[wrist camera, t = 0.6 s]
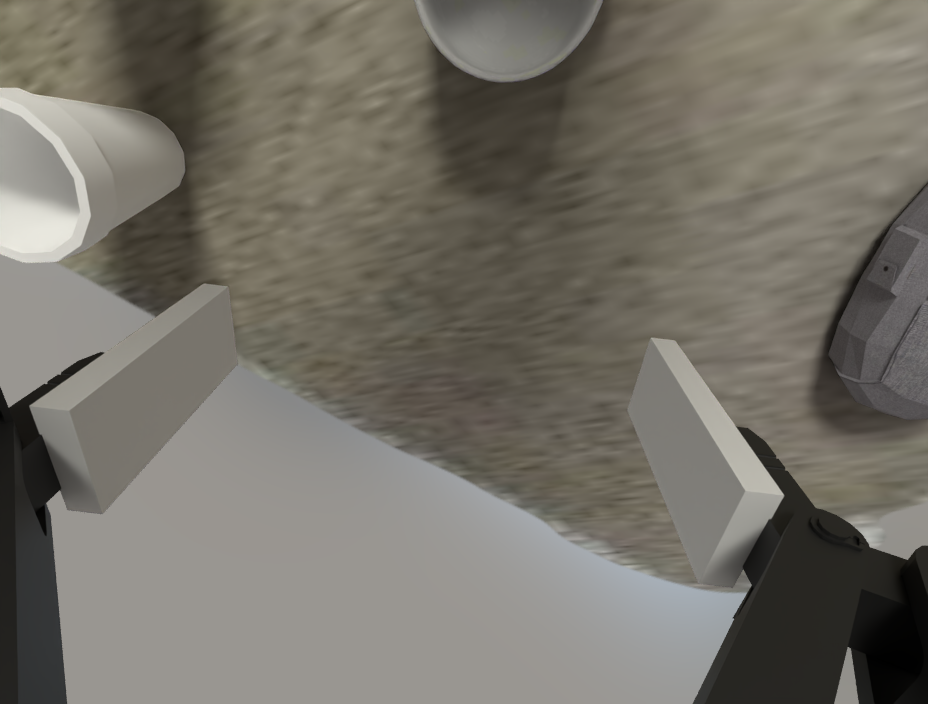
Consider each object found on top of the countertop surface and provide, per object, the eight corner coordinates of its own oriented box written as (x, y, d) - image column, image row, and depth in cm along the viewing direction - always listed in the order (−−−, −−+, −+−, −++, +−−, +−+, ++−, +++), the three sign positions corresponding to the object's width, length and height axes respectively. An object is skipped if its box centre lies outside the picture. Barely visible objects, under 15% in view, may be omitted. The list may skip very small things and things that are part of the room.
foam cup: (104, 58, 37) (-72, 46, 25) (222, 138, 39) (109, 160, 27) (71, 170, 41) (-96, 203, 29) (179, 237, 43) (65, 292, 31)
